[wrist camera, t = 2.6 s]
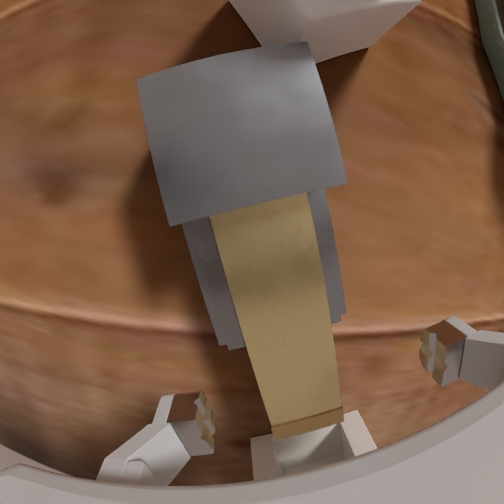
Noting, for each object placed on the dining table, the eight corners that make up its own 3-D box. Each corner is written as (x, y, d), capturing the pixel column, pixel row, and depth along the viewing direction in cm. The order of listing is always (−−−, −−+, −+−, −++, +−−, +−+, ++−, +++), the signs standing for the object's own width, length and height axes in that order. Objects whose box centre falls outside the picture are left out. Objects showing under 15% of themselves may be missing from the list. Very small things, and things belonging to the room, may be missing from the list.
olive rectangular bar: (268, 398, 18) (275, 441, 14) (200, 153, 15) (188, 141, 11) (326, 383, 18) (344, 422, 14) (276, 135, 15) (290, 118, 11)
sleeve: (220, 338, 18) (215, 400, 12) (159, 117, 15) (122, 84, 9) (340, 306, 18) (381, 355, 12) (292, 86, 15) (321, 40, 9)
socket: (267, 477, 22) (274, 530, 16) (250, 437, 21) (255, 500, 14) (358, 453, 22) (379, 502, 16) (357, 409, 21) (385, 464, 14)
